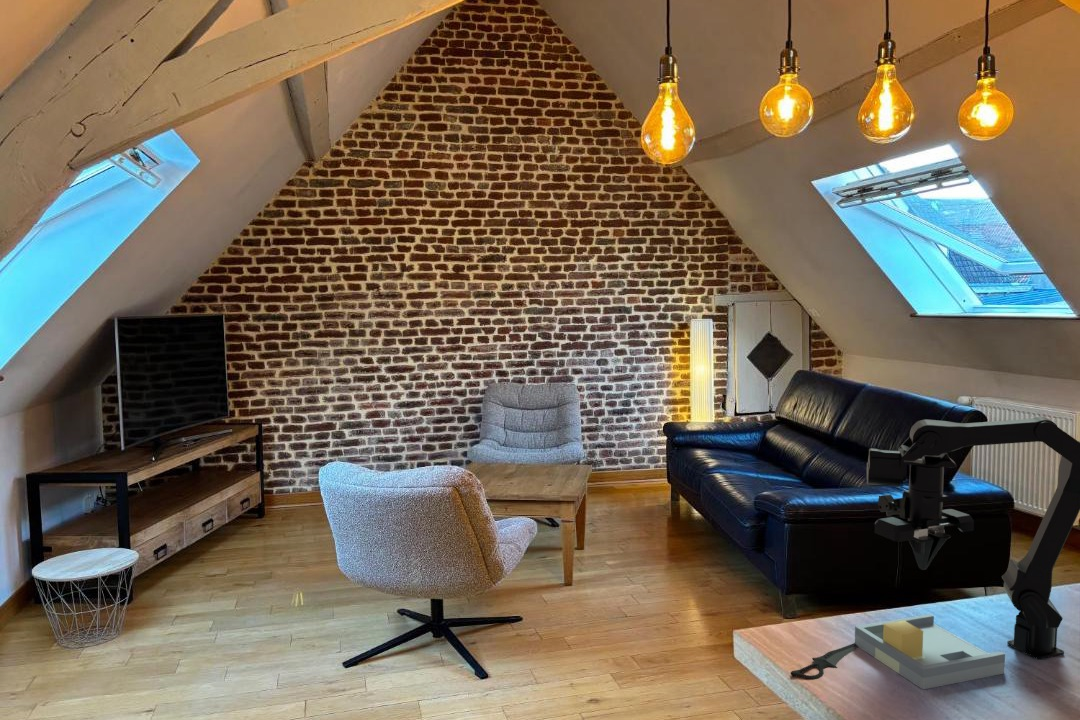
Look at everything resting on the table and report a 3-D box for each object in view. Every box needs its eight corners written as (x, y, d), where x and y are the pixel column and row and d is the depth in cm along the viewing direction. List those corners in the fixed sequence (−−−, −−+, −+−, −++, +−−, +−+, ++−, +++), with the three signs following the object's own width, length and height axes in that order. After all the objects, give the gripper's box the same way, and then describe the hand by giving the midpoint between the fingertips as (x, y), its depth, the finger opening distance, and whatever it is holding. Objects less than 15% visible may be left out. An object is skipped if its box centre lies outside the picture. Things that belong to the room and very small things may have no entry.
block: (903, 644, 141) (904, 620, 141) (922, 655, 137) (923, 631, 137) (882, 648, 140) (883, 624, 140) (901, 659, 136) (901, 634, 135)
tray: (929, 631, 151) (929, 613, 150) (1004, 673, 134) (1005, 653, 134) (854, 644, 146) (855, 626, 146) (923, 689, 130) (923, 669, 129)
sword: (807, 686, 132) (807, 680, 132) (785, 674, 136) (786, 669, 135) (891, 642, 148) (892, 637, 148) (870, 633, 151) (870, 628, 151)
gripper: (930, 473, 157) (927, 549, 158) (854, 482, 151) (852, 560, 152) (977, 487, 146) (974, 568, 148) (898, 497, 140) (895, 581, 142)
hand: (922, 568), depth 148 cm, fingers closed
